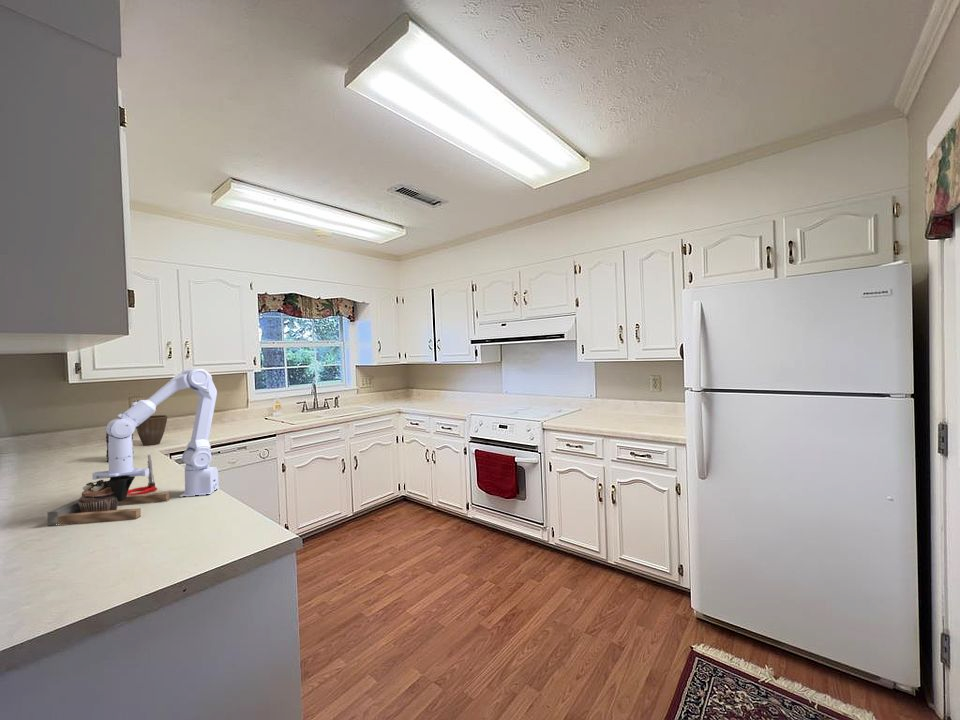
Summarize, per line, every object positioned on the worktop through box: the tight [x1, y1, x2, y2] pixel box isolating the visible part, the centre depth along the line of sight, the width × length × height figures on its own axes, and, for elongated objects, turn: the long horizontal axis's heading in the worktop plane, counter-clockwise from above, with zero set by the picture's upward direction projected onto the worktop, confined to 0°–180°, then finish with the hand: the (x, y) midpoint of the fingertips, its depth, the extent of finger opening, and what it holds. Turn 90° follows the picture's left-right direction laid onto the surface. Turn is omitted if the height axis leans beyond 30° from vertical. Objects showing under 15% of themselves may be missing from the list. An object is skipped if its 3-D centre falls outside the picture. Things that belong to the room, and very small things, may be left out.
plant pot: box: [135, 414, 168, 447], centre depth 234 cm, size 15×15×16 cm
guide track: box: [46, 491, 171, 526], centre depth 126 cm, size 22×17×4 cm
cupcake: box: [78, 479, 119, 513], centre depth 125 cm, size 10×10×10 cm
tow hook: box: [127, 454, 158, 495], centre depth 145 cm, size 8×13×9 cm
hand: (121, 500), depth 126 cm, fingers closed
